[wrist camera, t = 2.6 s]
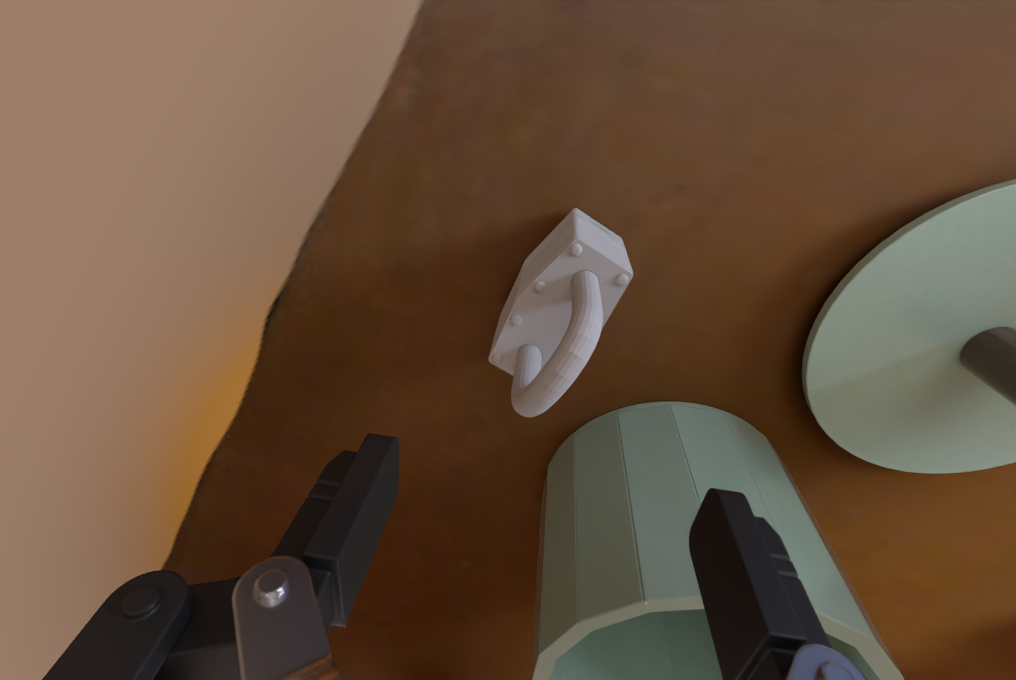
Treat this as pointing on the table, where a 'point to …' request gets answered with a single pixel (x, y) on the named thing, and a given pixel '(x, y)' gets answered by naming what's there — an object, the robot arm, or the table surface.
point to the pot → (667, 547)
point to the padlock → (559, 310)
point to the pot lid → (924, 343)
